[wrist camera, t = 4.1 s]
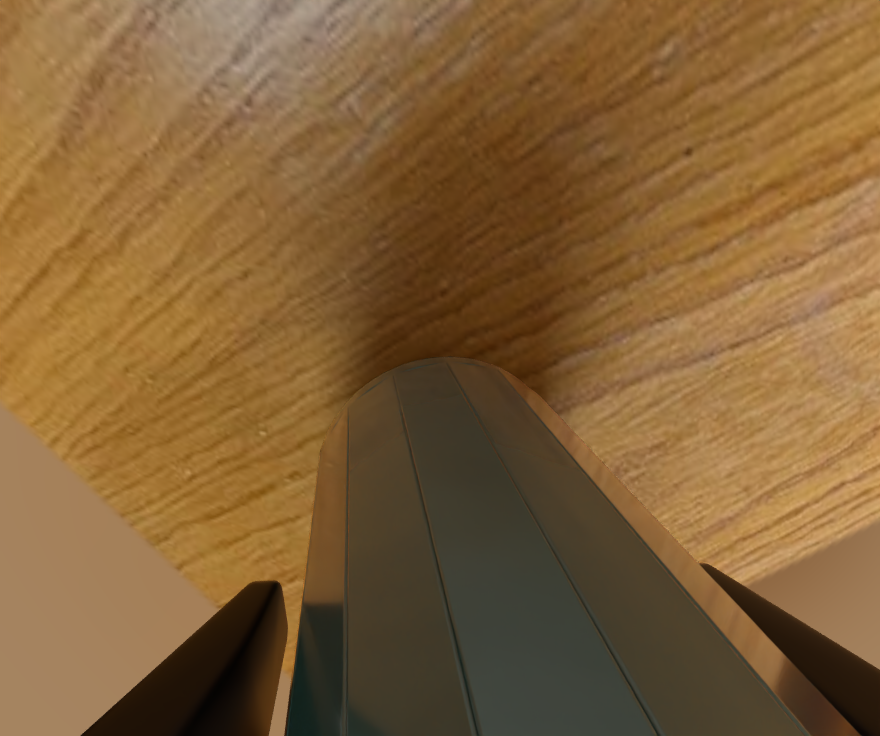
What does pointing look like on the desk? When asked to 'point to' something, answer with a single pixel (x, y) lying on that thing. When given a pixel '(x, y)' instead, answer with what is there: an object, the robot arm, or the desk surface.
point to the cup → (512, 585)
